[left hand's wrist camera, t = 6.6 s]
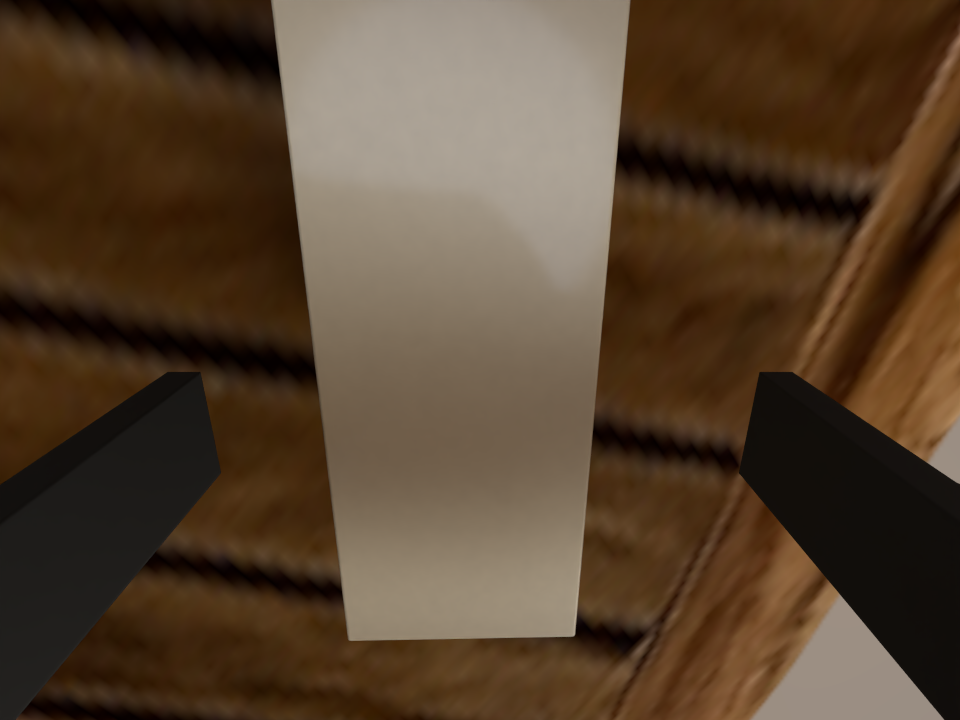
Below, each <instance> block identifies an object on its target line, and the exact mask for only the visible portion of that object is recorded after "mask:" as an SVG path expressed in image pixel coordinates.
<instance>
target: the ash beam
mask: <svg viewBox="0 0 960 720" xmlns="http://www.w3.org/2000/svg"><path fill="white" fill-rule="evenodd" d="M271 4H272V12H273V21H274V29H275V37H276V45H277V54H278V62H279V70H280V79H281V87H282V95H283V103H284V112H285V120H286V128H287V137H288V145H289V153H290V161H291V170H292V178H293V186H294V195H295V203H296V211H297V219H298V228H299V236H300V244H301V253H302V261H303V269H304V277H305V286H306V294H307V302H308V311H309V319H310V327H311V335H312V344H313V352H314V360H315V368H316V377H317V385H318V393H319V402H320V410H321V418H322V426H323V435H324V443H325V451H326V460H327V468H328V476H329V484H330V493H331V501H332V509H333V518H334V526H335V534H336V542H337V551H338V559H339V567H340V576H341V584H342V592H343V600H344V609H345V617H346V625H347V634H348V639H349V640H350V641H357V640H410V639H463V638H515V637H568V636H574V635H575V629H576V617H577V606H578V595H579V583H580V572H581V560H582V549H583V537H584V526H585V514H586V503H587V491H588V480H589V468H590V457H591V446H592V434H593V423H594V411H595V400H596V388H597V377H598V365H599V354H600V342H601V331H602V320H603V308H604V297H605V285H606V274H607V262H608V251H609V239H610V228H611V216H612V205H613V193H614V182H615V171H616V159H617V148H618V136H619V125H620V113H621V102H622V90H623V79H624V67H625V56H626V44H627V33H628V22H629V10H630V0H271Z"/></svg>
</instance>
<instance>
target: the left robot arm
mask: <svg viewBox="0 0 960 720" xmlns="http://www.w3.org/2000/svg"><path fill="white" fill-rule="evenodd" d="M220 474H221V470H220V466H219V461H218V456H217V451H216V446H215V441H214V436H213V431H212V426H211V422H210V417H209V412H208V407H207V402H206V397H205V392H204V387H203V382H202V378H201V373H200V372H167V373H166V374H164V375H163V376H161V377H160V378H158V379H157V380H155V381H154V382H152V383H151V384H149V385H148V386H146V387H145V388H143V389H142V390H140V391H139V392H137V393H136V394H134V395H133V396H131V397H130V398H129V399H127V400H126V401H124V402H123V403H121V404H120V405H118V406H117V407H115V408H114V409H112V410H111V411H109V412H108V413H106V414H105V415H103V416H102V417H100V418H99V419H97V420H96V421H94V422H93V423H91V424H90V425H88V426H87V427H85V428H84V429H83V430H81V431H80V432H78V433H77V434H75V435H74V436H72V437H71V438H69V439H68V440H66V441H65V442H63V443H62V444H60V445H59V446H57V447H56V448H54V449H53V450H51V451H50V452H48V453H47V454H45V455H44V456H42V457H41V458H39V459H38V460H36V461H35V462H34V463H32V464H31V465H29V466H28V467H26V468H25V469H23V470H22V471H20V472H19V473H17V474H16V475H14V476H13V477H11V478H10V479H8V480H7V481H5V482H4V483H2V484H1V485H0V720H16V719H17V717H18V716H19V715H20V714H21V713H22V711H23V710H24V709H25V708H26V707H27V705H28V704H29V703H30V702H31V701H32V699H33V698H34V697H35V696H36V695H37V693H38V692H39V691H40V690H41V689H42V687H43V686H44V685H45V684H46V683H47V681H48V680H49V679H50V678H51V677H52V675H53V674H54V673H55V672H56V671H57V669H58V668H59V667H60V666H61V665H62V663H63V662H64V661H65V660H66V659H67V657H68V656H69V655H70V654H71V653H72V651H73V650H74V649H75V648H76V647H77V645H78V644H79V643H80V642H81V641H82V639H83V638H84V637H85V636H86V635H87V633H88V632H89V631H90V630H91V629H92V627H93V626H94V625H95V624H96V623H97V621H98V620H99V619H100V618H101V617H102V615H103V614H104V613H105V612H106V611H107V609H108V608H109V607H110V606H111V605H112V603H113V602H114V601H115V600H116V599H117V597H118V596H119V595H120V594H121V592H122V591H123V590H124V589H125V588H126V586H127V585H128V584H129V583H130V582H131V580H132V579H133V578H134V577H135V576H136V574H137V573H138V572H139V571H140V570H141V568H142V567H143V566H144V565H145V564H146V562H147V561H148V560H149V559H150V558H151V556H152V555H153V554H154V553H155V552H156V550H157V549H158V548H159V547H160V546H161V544H162V543H163V542H164V541H165V540H166V538H167V537H168V536H169V535H170V534H171V532H172V531H173V530H174V529H175V528H176V526H177V525H178V524H179V523H180V522H181V520H182V519H183V518H184V517H185V516H186V514H187V513H188V512H189V511H190V510H191V508H192V507H193V506H194V505H195V504H196V502H197V501H198V500H199V499H200V498H201V496H202V495H203V494H204V493H205V492H206V490H207V489H208V488H209V487H210V486H211V484H212V483H213V482H214V481H215V480H216V478H217V477H218V476H219V475H220ZM739 474H740V475H741V476H742V477H743V478H744V480H745V481H746V482H747V483H748V484H749V486H750V487H751V488H752V489H753V490H754V492H755V493H756V494H757V495H758V496H759V498H760V499H761V500H762V501H763V502H764V504H765V505H766V506H767V507H768V508H769V510H770V511H771V512H772V513H773V514H774V516H775V517H776V518H777V519H778V520H779V522H780V523H781V524H782V525H783V526H784V528H785V529H786V530H787V531H788V532H789V534H790V535H791V536H792V537H793V538H794V540H795V541H796V542H797V543H798V544H799V546H800V547H801V548H802V549H803V550H804V552H805V553H806V554H807V555H808V556H809V558H810V559H811V560H812V561H813V562H814V564H815V565H816V566H817V567H818V568H819V570H820V571H821V572H822V573H823V574H824V576H825V577H826V578H827V579H828V580H829V582H830V583H831V584H832V585H833V586H834V588H835V589H836V590H837V591H838V592H839V594H840V595H841V596H842V597H843V599H844V600H845V601H846V602H847V603H848V605H849V606H850V607H851V608H852V609H853V610H854V612H855V613H856V614H857V615H858V617H859V618H860V619H861V620H862V621H863V622H864V624H865V625H866V626H867V627H868V629H869V630H870V631H871V632H872V633H873V635H874V636H875V637H876V638H877V639H878V641H879V642H880V643H881V644H882V645H883V647H884V648H885V649H886V650H887V651H888V652H889V654H890V655H891V656H892V657H893V659H894V660H895V661H896V662H897V663H898V664H899V666H900V667H901V668H902V669H903V671H904V672H905V673H906V674H907V675H908V677H909V678H910V679H911V680H912V681H913V683H914V684H915V685H916V686H917V687H918V689H919V690H920V691H921V692H922V693H923V695H924V696H925V697H926V698H927V699H928V701H929V702H930V703H931V704H932V705H933V707H934V708H935V709H936V710H937V711H938V713H939V714H940V715H941V716H942V717H943V719H944V720H960V484H958V483H956V482H955V481H953V480H952V479H950V478H949V477H947V476H946V475H944V474H943V473H941V472H940V471H938V470H937V469H935V468H934V467H932V466H931V465H929V464H928V463H926V462H925V461H924V460H922V459H921V458H919V457H918V456H916V455H915V454H913V453H912V452H910V451H909V450H907V449H906V448H904V447H903V446H901V445H900V444H898V443H897V442H895V441H894V440H892V439H891V438H889V437H888V436H886V435H885V434H883V433H882V432H880V431H879V430H877V429H876V428H875V427H873V426H872V425H870V424H869V423H867V422H866V421H864V420H863V419H861V418H860V417H858V416H857V415H855V414H854V413H852V412H851V411H849V410H848V409H846V408H845V407H843V406H842V405H840V404H839V403H837V402H836V401H834V400H833V399H831V398H830V397H829V396H827V395H826V394H824V393H823V392H821V391H820V390H818V389H817V388H815V387H814V386H812V385H811V384H809V383H808V382H806V381H805V380H803V379H802V378H800V377H799V376H797V375H796V374H794V373H793V372H760V373H759V378H758V382H757V387H756V392H755V397H754V402H753V407H752V412H751V417H750V422H749V426H748V431H747V436H746V441H745V446H744V451H743V456H742V461H741V466H740V470H739Z"/></svg>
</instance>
